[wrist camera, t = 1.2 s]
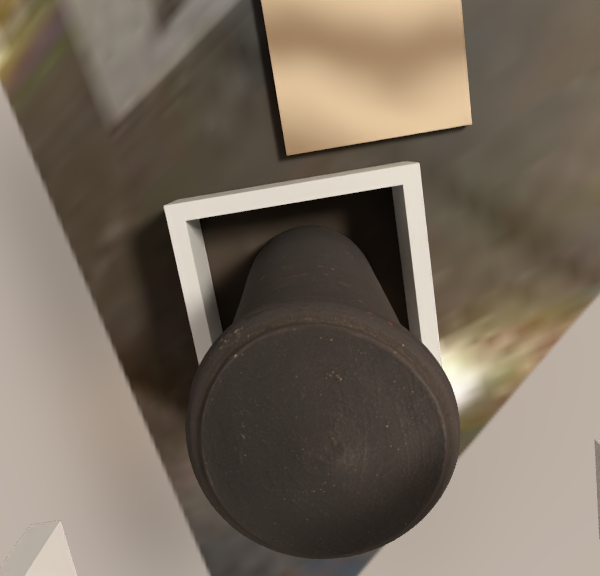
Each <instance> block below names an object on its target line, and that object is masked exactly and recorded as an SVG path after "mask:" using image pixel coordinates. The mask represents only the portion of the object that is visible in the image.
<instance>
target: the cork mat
mask: <svg viewBox="0 0 600 576" xmlns="http://www.w3.org/2000/svg"><path fill="white" fill-rule="evenodd" d="M261 3H262V9H263V15H264V21H265V27H266V33H267V39H268V45H269V51H270V57H271V63H272V69H273V75H274V81H275V87H276V93H277V99H278V105H279V111H280V117H281V123H282V129H283V135H284V141H285V147H286V154H287V156H288V155H294V154H299V153H305V152H311V151H317V150H323V149H329V148H335V147H341V146H347V145H352V144H358V143H364V142H370V141H376V140H382V139H388V138H394V137H400V136H405V135H411V134H417V133H423V132H429V131H435V130H441V129H447V128H453V127H458V126H464V125H470V124H472V120H471V108H470V97H469V85H468V74H467V63H466V51H465V40H464V29H463V17H462V6H461V0H261Z"/></svg>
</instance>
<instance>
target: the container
mask: <svg viewBox="0 0 600 576" xmlns="http://www.w3.org/2000/svg"><path fill="white" fill-rule="evenodd" d="M185 426H186V430H185V431H186V442H187V448H188V453H189V458H190V461H191V465H192V468H193V471H194V474H195V476H196V478H197V481H198V483H199V485H200V487H201V489H202V491H203V492H204V494H205V496H206V497H207V499H208V500H209V502H210V503H211V505H212V506H213V507H214V508H215V510H216V511H217V512H218V513H219V514H220V515H221V516H222V517H223V519H225V520H226V521H227V522H228V523H229V524H230V525H231V526H232V527H233V528H235V529H236V530H237V531H238V532H240V533H241V534H242V535H244V536H245V537H247V538H249V539H250V540H252V541H254V542H256V543H258V544H260V545H262V546H264V547H266V548H269V549H271V550H274V551H277V552H280V553H283V554H287V555H291V556H295V557H302V558H310V559H332V558H342V557H349V556H354V555H359V554H362V553H365V552H368V551H371V550H374V549H376V548H379V547H382V546H384V545H386V544H388V543H390V542H392V541H394V540H395V539H397V538H399V537H400V536H402V535H403V534H405V533H406V532H408V531H409V530H410V529H412V528H413V527H414V526H415V525H417V524H418V523H419V522H420V521H421V520H422V519H423V518H424V517H425V516H426V515H427V514H428V513H429V512H430V510H431V509H432V508H433V507H434V506H435V504H436V503H437V502H438V500H439V499H440V497H441V496H442V494H443V492H444V491H445V489H446V487H447V485H448V483H449V481H450V479H451V477H452V474H453V472H454V469H455V466H456V462H457V458H458V453H459V446H460V421H459V413H458V407H457V402H456V399H455V395H454V392H453V389H452V386H451V384H450V382H449V380H448V378H447V376H446V374H445V372H444V371H443V369H442V367H441V365H440V364H439V362H438V361H437V359H436V358H435V357H434V356H433V354H432V353H431V352H430V351H429V350H428V348H427V347H426V346H425V345H424V344H423V343H422V342H421V341H420V340H419V339H418V338H417V337H416V336H414V335H413V334H412V333H411V332H410V331H408V330H407V329H406V328H404V327H403V326H402V325H401V324H400V323H399V321H398V318H397V316H396V314H395V312H394V311H393V309H392V307H391V305H390V303H389V301H388V299H387V297H386V295H385V293H384V291H383V289H382V288H381V285H380V283H379V281H378V280H377V278H376V276H375V274H374V272H373V270H372V268H371V266H370V264H369V262H368V260H367V259H366V257H365V256H364V254H363V253H362V251H361V250H360V249H359V248H358V247H357V246H356V244H355V243H353V242H352V241H351V240H350V239H349V238H347V237H346V236H344V235H343V234H341V233H339V232H337V231H335V230H332V229H329V228H326V227H321V226H302V227H297V228H292V229H289V230H287V231H285V232H283V233H281V234H279V235H278V236H276V237H275V238H273V239H272V240H271V241H270V242H268V243H267V244H266V245H265V246H264V248H263V249H262V250H261V251H260V252H259V254H258V255H257V257H256V258H255V260H254V262H253V264H252V267H251V269H250V272H249V274H248V277H247V281H246V285H245V288H244V291H243V294H242V298H241V301H240V304H239V307H238V310H237V313H236V315H235V318H234V321H233V324H232V325H230V326H229V327H228V328H227V329H226V330H225V331H224V332H223V333H222V334H221V335H220V336H219V337H218V338H217V339H216V341H215V342H214V343H213V344H212V345H211V347H210V348H209V350H208V351H207V353H206V354H205V356H204V357H203V359H202V361H201V363H200V365H199V367H198V369H197V372H196V374H195V376H194V379H193V382H192V385H191V389H190V397H189V407H188V410H187V413H186V423H185Z"/></svg>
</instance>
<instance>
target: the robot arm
mask: <svg viewBox="0 0 600 576" xmlns="http://www.w3.org/2000/svg"><path fill="white" fill-rule="evenodd" d="M595 456H596V476H597V497H598V519H599V538H600V439H595ZM0 576H77V573H76V570H75V566H74V563H73V560H72V556H71V553H70V550H69V546H68V543H67V540H66V537H65V533H64V530H63V527H62V523H61V520H58V521H51V522H45V523H38V524H31V525H30V526H29V527H28V529H27V530H26V532H25V533H24V534H23V536H22V537H21V539H20V540H19V541H18V543H17V544H16V545H15V547H14V548H13V550H12V551H11V552H10V554H9V555H8V557H7V558H6V559H5V561H4V562H3V563H2V565H1V566H0Z"/></svg>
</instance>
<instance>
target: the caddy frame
mask: <svg viewBox="0 0 600 576" xmlns="http://www.w3.org/2000/svg"><path fill="white" fill-rule="evenodd" d="M386 187H392V193H393V201H394V209H395V218H396V226H397V234H398V242H399V250H400V258H401V266H402V274H403V282H404V290H405V298H406V306H407V314H408V322H409V330H410V332H411V333H412V334H413V335H414V336H416V337H417V338H418V339H419V340H420V341H421V342H422V343H423V344H424V345H425V346H426V347H427V348H428V350H429V351H430V352H431V353H432V354H433V356H434V357H435V358H436V359H437V361H438V362H439V364H440V365H441V367H442V362H441V353H440V344H439V335H438V326H437V317H436V308H435V299H434V290H433V281H432V272H431V263H430V254H429V245H428V236H427V227H426V218H425V209H424V200H423V191H422V182H421V173H420V164H419V163H416V162H407V161H404V162H398V163H392V164H386V165H380V166H374V167H368V168H362V169H357V170H351V171H345V172H339V173H333V174H327V175H321V176H315V177H309V178H303V179H297V180H291V181H285V182H279V183H273V184H267V185H261V186H256V187H250V188H244V189H238V190H232V191H226V192H220V193H214V194H208V195H202V196H196V197H190V198H184V199H178V200H176V201H174V202H171V203H169V204H167V205H164V210H165V214H166V219H167V223H168V228H169V232H170V237H171V241H172V246H173V250H174V255H175V259H176V264H177V268H178V273H179V277H180V282H181V286H182V291H183V295H184V300H185V304H186V309H187V313H188V318H189V322H190V327H191V331H192V336H193V340H194V345H195V349H196V354H197V358H198V363H199V365H200V363H201V361H202V359H203V357H204V356H205V354H206V353H207V351H208V350H209V348H210V347H211V345H212V344H213V343H214V342H215V341H216V339H217V338H218V337H219V336H220V335H221V334H222V333H223V331H222V326H221V321H220V316H219V312H218V307H217V302H216V297H215V292H214V288H213V283H212V278H211V273H210V268H209V264H208V259H207V254H206V249H205V244H204V240H203V235H202V230H201V225H200V220H199V219H200V218H206V217H212V216H218V215H224V214H230V213H236V212H242V211H248V210H254V209H260V208H266V207H272V206H278V205H284V204H290V203H296V202H302V201H308V200H314V199H320V198H326V197H332V196H338V195H344V194H350V193H356V192H362V191H368V190H374V189H380V188H386Z"/></svg>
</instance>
